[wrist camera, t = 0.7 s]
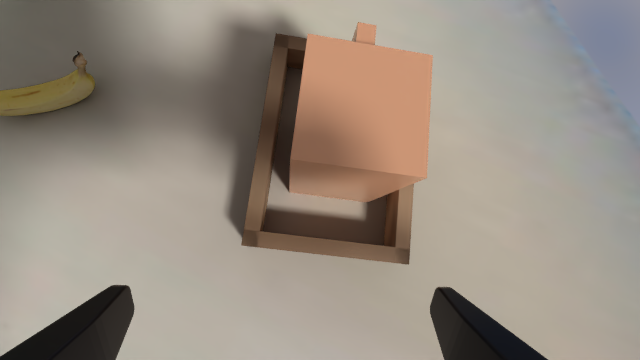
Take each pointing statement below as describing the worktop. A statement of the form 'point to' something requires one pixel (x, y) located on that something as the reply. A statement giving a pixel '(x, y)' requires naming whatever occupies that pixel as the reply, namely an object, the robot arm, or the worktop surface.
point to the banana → (49, 93)
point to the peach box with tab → (360, 118)
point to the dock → (284, 55)
